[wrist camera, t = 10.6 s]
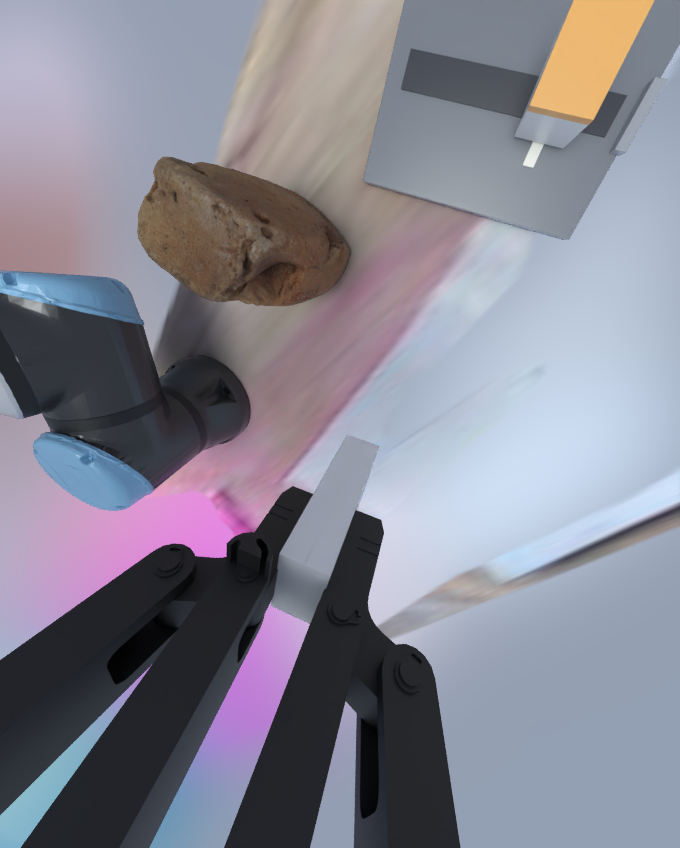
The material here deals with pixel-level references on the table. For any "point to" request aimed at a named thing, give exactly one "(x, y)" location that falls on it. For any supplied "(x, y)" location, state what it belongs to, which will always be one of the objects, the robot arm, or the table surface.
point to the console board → (503, 111)
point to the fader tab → (581, 68)
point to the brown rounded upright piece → (238, 236)
